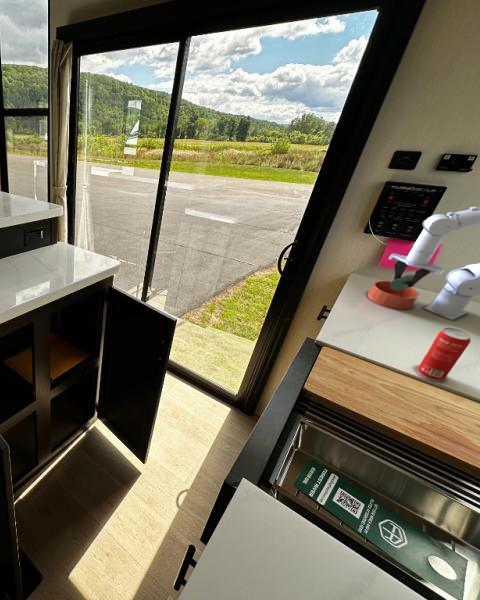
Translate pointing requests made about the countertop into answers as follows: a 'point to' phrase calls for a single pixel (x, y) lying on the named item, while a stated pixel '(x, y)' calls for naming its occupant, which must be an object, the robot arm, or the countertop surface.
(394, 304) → the bowl
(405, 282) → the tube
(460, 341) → the beverage can
